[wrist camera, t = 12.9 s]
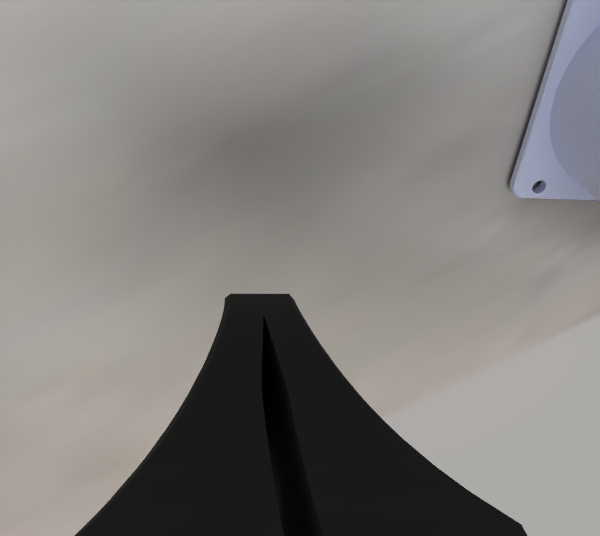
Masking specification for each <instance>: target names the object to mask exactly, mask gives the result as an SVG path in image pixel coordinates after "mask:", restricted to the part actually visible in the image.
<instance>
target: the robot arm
mask: <svg viewBox="0 0 600 536" xmlns="http://www.w3.org/2000/svg"><path fill="white" fill-rule="evenodd" d="M537 181H541V183H540V185H539V186H538V187H537V188H534V189H532V187H533V185H534V184H535V183H536V182H537ZM510 189H511V191H512V192H513V193H514V194H515V195H516V196H517V197H520V198H536V199H570V200H599V201H600V0H568V1H567V4H566V7H565V10H564V14H563V17H562V20H561V23H560V26H559V29H558V32H557V36H556V39H555V42H554V45H553V48H552V51H551V55H550V58H549V61H548V64H547V67H546V70H545V74H544V77H543V80H542V83H541V86H540V89H539V93H538V96H537V99H536V102H535V105H534V108H533V111H532V115H531V118H530V121H529V124H528V127H527V130H526V134H525V137H524V140H523V143H522V146H521V149H520V153H519V156H518V159H517V162H516V165H515V168H514V172H513V175H512V178H511V181H510ZM75 536H527V534H526V533H525V531H524V529H523V527H522V525H521V524H519V523H518V522H516V521H514V520H513V519H512V518H510V517H508V516H507V515H505V514H504V513H502V512H501V511H499V510H498V509H496V508H494V507H493V506H491V505H490V504H488V503H487V502H485V501H483V500H482V499H480V498H479V497H477V496H476V495H474V494H472V493H471V492H470V491H468V490H467V489H465V488H464V487H463V486H461V485H459V483H457V482H455V481H454V480H453V479H452V478H450V477H449V476H448V475H446V474H445V473H444V472H442V471H441V470H439V469H438V468H437V467H436V466H434V465H433V464H432V463H431V462H430V461H428V460H427V459H426V458H425V457H424V456H422V455H421V454H420V453H419V452H418V451H416V450H415V449H414V448H413V447H412V446H411V445H409V444H408V443H407V442H406V441H404V440H403V439H402V438H401V437H400V436H399V435H398V434H397V433H396V432H395V431H394V430H393V429H392V428H391V427H390V426H389V425H388V424H387V423H385V421H384V420H383V419H382V418H381V417H380V416H379V415H378V414H377V413H376V412H375V411H374V410H373V409H372V408H371V407H370V406H369V405H368V404H367V403H366V402H365V400H364V399H363V398H362V397H361V396H360V395H359V394H358V392H357V391H356V390H355V389H354V388H353V386H352V385H351V384H350V383H349V382H348V380H347V379H346V378H345V377H344V376H343V374H342V373H341V372H340V370H339V369H338V368H337V366H336V365H335V364H334V362H333V361H332V360H331V358H330V357H329V355H328V354H327V353H326V351H325V350H324V348H323V347H322V346H321V344H320V343H319V341H318V340H317V338H316V337H315V335H314V334H313V332H312V331H311V329H310V327H309V326H308V324H307V323H306V321H305V319H304V318H303V316H302V314H301V312H300V311H299V309H298V307H297V305H296V303H295V301H294V299H293V298H292V297H291V296H290V295H289V294H230V295H229V296H227V297H226V298H225V306H224V311H223V315H222V319H221V323H220V326H219V329H218V332H217V335H216V337H215V340H214V342H213V344H212V347H211V349H210V352H209V354H208V356H207V359H206V361H205V363H204V365H203V367H202V369H201V371H200V373H199V375H198V377H197V379H196V381H195V382H194V384H193V386H192V388H191V390H190V392H189V394H188V395H187V397H186V399H185V401H184V402H183V404H182V406H181V407H180V409H179V410H178V412H177V414H176V415H175V417H174V418H173V420H172V421H171V423H170V424H169V426H168V427H167V429H166V430H165V432H164V433H163V434H162V436H161V437H160V439H159V440H158V441H157V443H156V444H155V446H154V447H153V448H152V450H151V451H150V452H149V454H148V455H147V456H146V458H145V459H144V460H143V461H142V463H141V464H140V465H139V466H138V468H137V469H136V470H135V471H134V472H133V474H132V475H131V476H130V477H129V478H128V479H127V480H126V482H125V483H124V484H123V485H122V486H121V487H120V489H119V490H118V491H117V492H116V493H115V494H114V496H113V497H112V498H111V499H110V500H109V501H108V502H107V504H106V505H105V506H104V507H103V508H102V509H101V510H100V511H99V512H98V513H97V514H96V515H95V516H94V517H93V518H92V519H91V520H90V521H89V522H88V523H87V524H86V525H85V526H84V527H83V528H82V529H81V530H80V531H79V532H78V533H77V534H76V535H75Z"/></svg>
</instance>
